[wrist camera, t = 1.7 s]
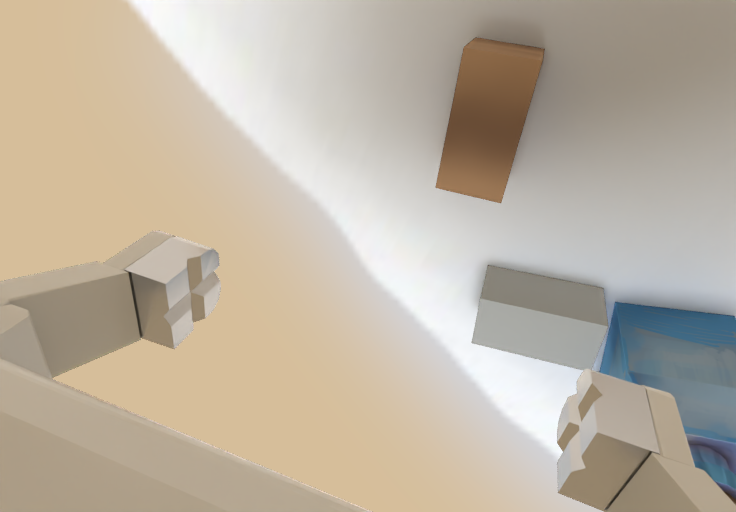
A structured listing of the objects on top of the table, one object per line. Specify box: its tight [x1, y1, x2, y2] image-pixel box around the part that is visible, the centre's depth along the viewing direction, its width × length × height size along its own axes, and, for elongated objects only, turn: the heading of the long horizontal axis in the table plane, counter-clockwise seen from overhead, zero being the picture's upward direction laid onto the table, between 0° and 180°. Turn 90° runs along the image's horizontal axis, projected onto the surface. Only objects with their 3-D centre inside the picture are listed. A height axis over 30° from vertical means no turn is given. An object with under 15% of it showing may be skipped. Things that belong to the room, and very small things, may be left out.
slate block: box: [472, 265, 608, 370], centre depth 29 cm, size 7×4×4 cm, turn 88°
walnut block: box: [436, 38, 544, 203], centre depth 25 cm, size 7×4×4 cm, turn 173°
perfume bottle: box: [600, 302, 736, 505], centre depth 25 cm, size 6×6×12 cm
